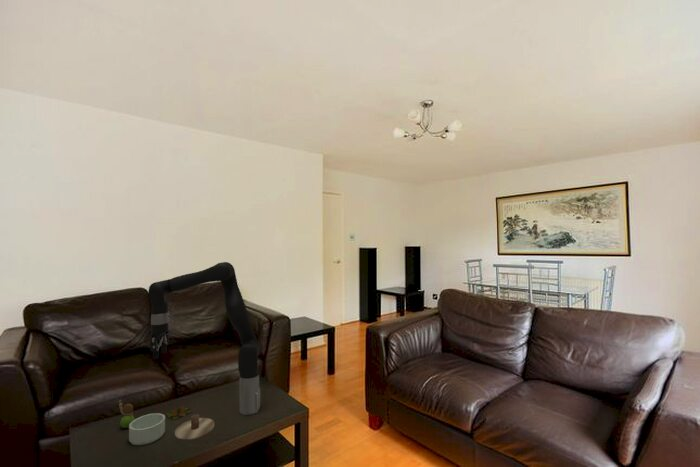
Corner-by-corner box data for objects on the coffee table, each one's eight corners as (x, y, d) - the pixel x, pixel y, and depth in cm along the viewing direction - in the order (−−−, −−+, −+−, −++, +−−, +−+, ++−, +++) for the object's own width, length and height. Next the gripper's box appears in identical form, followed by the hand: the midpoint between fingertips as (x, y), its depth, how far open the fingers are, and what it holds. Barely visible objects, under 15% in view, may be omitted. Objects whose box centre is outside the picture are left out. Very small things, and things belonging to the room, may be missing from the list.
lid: (219, 419, 154) (219, 406, 154) (205, 440, 138) (206, 425, 138) (185, 420, 153) (185, 407, 154) (167, 441, 137) (167, 426, 138)
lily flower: (172, 423, 151) (172, 413, 151) (159, 416, 158) (159, 406, 158) (197, 412, 161) (197, 403, 161) (183, 406, 167) (183, 396, 168)
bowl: (170, 427, 147) (170, 413, 147) (154, 445, 134) (154, 429, 134) (141, 428, 146) (141, 413, 147) (121, 446, 133) (122, 430, 134)
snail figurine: (122, 424, 150) (122, 397, 150) (137, 423, 151) (137, 397, 151) (114, 431, 145) (115, 403, 145) (130, 430, 145) (130, 402, 145)
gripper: (161, 325, 153) (161, 360, 153) (174, 318, 168) (174, 350, 167) (144, 326, 153) (144, 361, 152) (158, 319, 167) (158, 351, 166)
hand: (159, 355), depth 160 cm, fingers open, 8 cm apart
